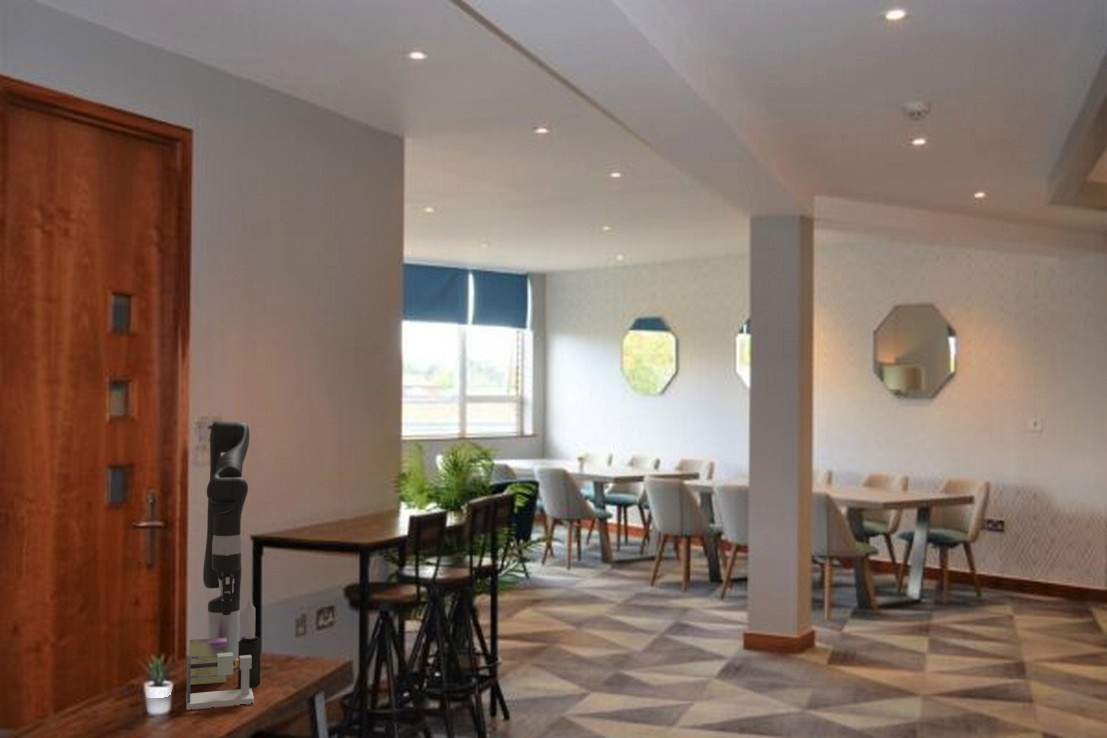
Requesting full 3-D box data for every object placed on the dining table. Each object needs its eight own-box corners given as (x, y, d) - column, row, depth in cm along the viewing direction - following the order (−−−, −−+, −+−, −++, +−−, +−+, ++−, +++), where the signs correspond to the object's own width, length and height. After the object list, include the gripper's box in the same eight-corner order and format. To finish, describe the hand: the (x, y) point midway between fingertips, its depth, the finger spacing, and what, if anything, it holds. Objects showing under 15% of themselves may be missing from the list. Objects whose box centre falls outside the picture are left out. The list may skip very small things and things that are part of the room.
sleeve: (216, 671, 284) (217, 653, 284) (232, 670, 285) (232, 652, 285) (217, 675, 280) (217, 656, 280) (233, 674, 281) (233, 655, 281)
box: (226, 677, 306) (226, 636, 306) (226, 682, 300) (227, 641, 301) (188, 680, 303) (189, 639, 303) (188, 685, 297) (188, 643, 298)
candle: (252, 688, 295) (254, 598, 295) (236, 687, 296) (237, 598, 296) (261, 683, 300) (262, 595, 300) (245, 682, 301) (246, 594, 301)
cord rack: (186, 699, 284) (186, 654, 284) (251, 693, 289) (251, 650, 290) (186, 709, 274) (187, 663, 274) (254, 703, 280) (254, 658, 280)
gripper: (211, 548, 289) (210, 607, 288) (213, 555, 275) (212, 618, 275) (239, 547, 291) (238, 605, 291) (242, 554, 278) (242, 616, 277)
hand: (225, 611), depth 283 cm, fingers open, 8 cm apart
